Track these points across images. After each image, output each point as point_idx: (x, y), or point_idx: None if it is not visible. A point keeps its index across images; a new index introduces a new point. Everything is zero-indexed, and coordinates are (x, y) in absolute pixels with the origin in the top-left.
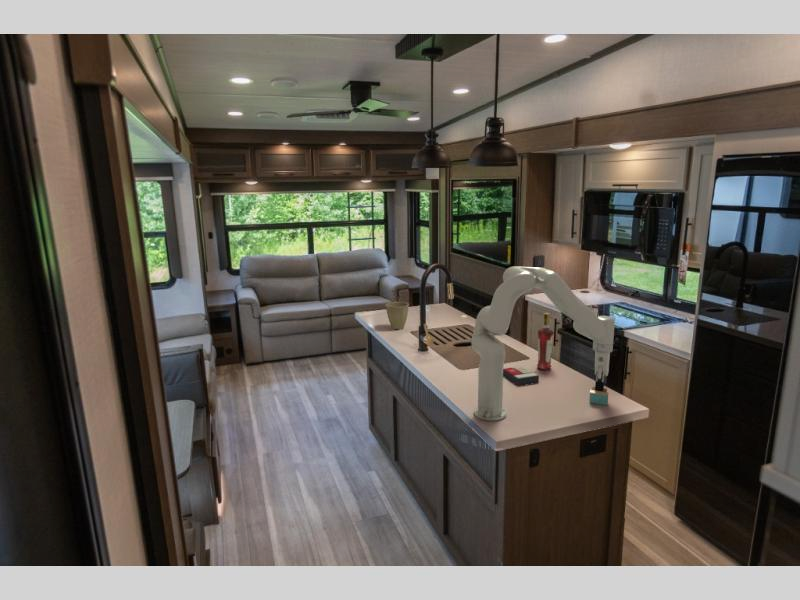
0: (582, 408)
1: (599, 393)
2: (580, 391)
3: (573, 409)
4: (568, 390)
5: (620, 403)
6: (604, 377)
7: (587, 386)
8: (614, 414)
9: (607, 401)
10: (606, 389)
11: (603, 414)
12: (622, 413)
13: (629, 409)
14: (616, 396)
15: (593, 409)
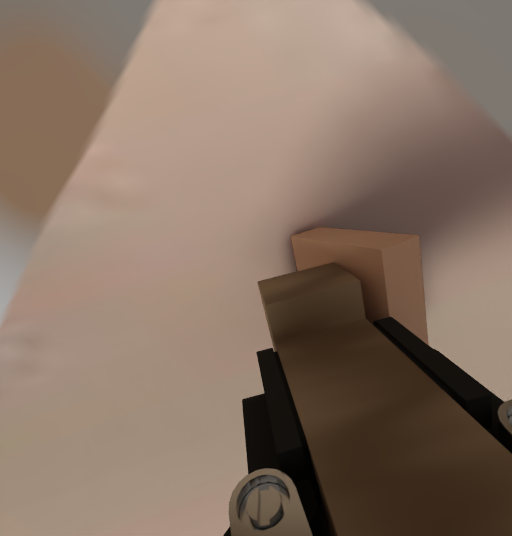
0: (466, 350)
1: (423, 328)
2: (177, 471)
3: (506, 386)
4: (215, 527)
5: (212, 143)
6: (409, 484)
7: (38, 475)
8: (471, 121)
9: (347, 232)
10: (296, 303)
11: (506, 197)
12: (422, 64)
13: (301, 26)
14: (71, 224)
15: (449, 287)
